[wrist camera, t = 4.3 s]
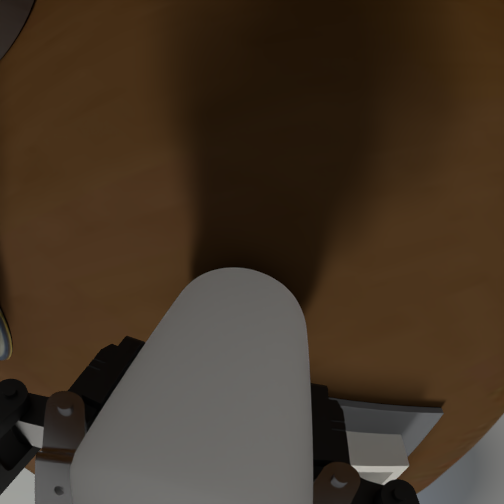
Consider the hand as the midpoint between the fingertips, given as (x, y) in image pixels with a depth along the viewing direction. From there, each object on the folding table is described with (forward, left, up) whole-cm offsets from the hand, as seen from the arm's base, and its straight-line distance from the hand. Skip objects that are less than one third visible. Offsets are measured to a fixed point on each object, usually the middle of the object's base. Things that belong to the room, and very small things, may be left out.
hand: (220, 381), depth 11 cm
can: (0, 0, -4) cm, 4 cm away
